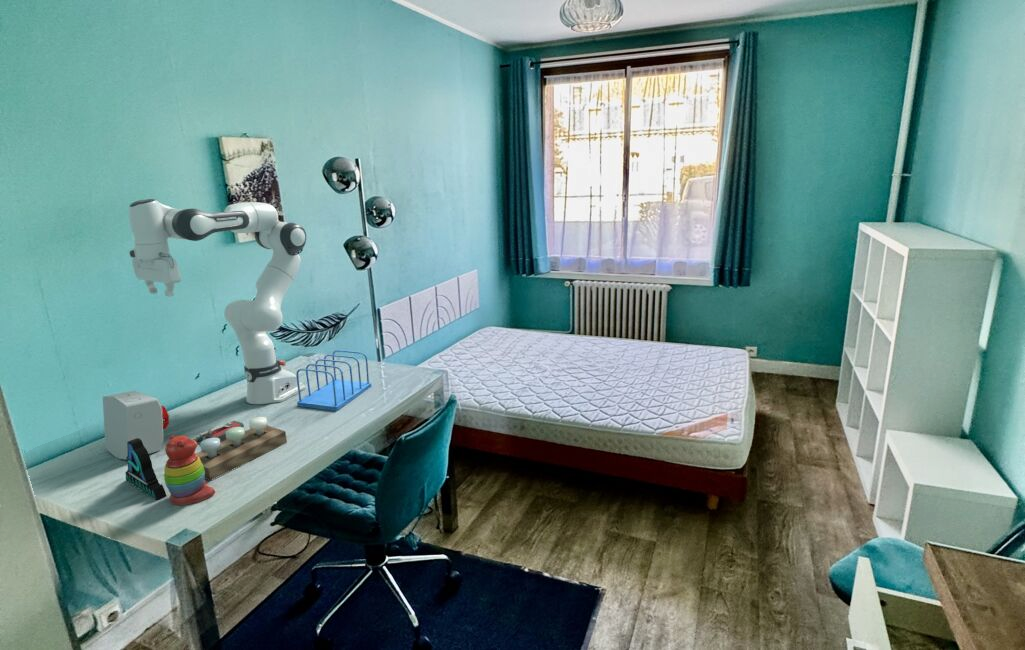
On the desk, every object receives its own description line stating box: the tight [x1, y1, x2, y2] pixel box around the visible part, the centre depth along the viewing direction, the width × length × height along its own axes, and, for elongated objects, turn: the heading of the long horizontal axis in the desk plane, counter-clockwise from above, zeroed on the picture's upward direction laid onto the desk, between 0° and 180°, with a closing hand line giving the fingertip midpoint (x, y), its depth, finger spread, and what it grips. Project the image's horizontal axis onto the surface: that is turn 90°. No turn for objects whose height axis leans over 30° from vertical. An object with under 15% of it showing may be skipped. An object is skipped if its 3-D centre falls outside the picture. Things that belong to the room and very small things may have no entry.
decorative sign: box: [125, 438, 167, 502], centre depth 150 cm, size 19×2×15 cm, turn 56°
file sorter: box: [295, 349, 372, 412], centre depth 210 cm, size 25×17×15 cm
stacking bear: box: [163, 434, 216, 506], centre depth 145 cm, size 11×10×18 cm
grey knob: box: [199, 438, 221, 459], centre depth 160 cm, size 5×5×5 cm
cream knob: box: [248, 416, 269, 437], centre depth 173 cm, size 5×5×5 cm
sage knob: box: [225, 427, 246, 448], centre depth 167 cm, size 5×5×5 cm
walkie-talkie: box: [192, 420, 245, 442], centre depth 179 cm, size 9×4×20 cm
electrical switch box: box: [102, 390, 170, 460], centre depth 173 cm, size 15×15×20 cm
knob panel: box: [195, 425, 288, 481], centre depth 168 cm, size 26×12×4 cm, turn 150°
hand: (161, 294), depth 174 cm, fingers open, 8 cm apart
